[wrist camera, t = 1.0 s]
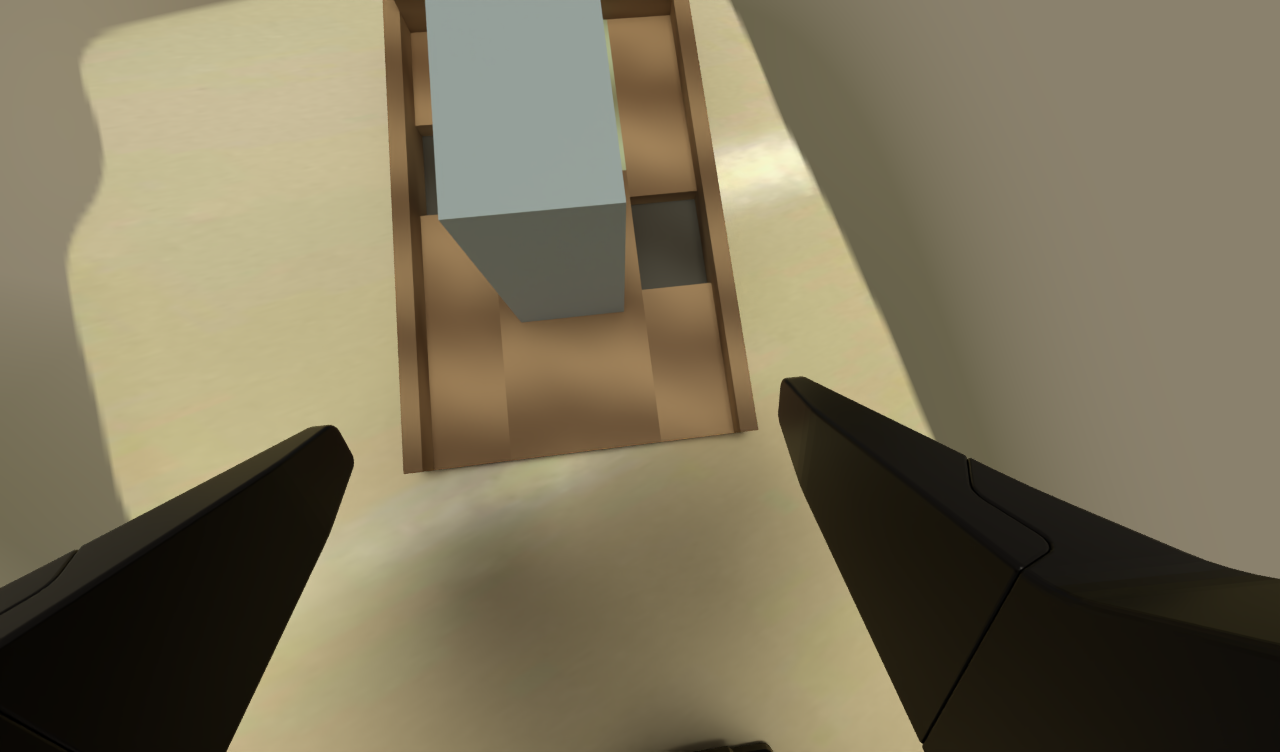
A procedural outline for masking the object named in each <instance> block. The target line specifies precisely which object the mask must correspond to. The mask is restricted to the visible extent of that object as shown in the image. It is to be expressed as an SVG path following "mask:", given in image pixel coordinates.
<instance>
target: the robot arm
mask: <svg viewBox="0 0 1280 752" xmlns="http://www.w3.org/2000/svg"><path fill="white" fill-rule="evenodd" d="M778 417H779V423H780V426H781V429H782V432H783V435H784V438H785V441H786V444H787V447H788V451H789V454H790V457H791V460H792V463H793V466H794V469H795V472H796V475H797V478H798V481H799V484H800V486H801V489H802V491H803V493H804V496H805V498H806V500H807V502H808V504H809V506H810V508H811V511H812V513H813V515H814V517H815V519H816V521H817V523H818V526H819V528H820V530H821V532H822V534H823V536H824V538H825V540H826V543H827V545H828V547H829V549H830V551H831V553H832V555H833V558H834V560H835V562H836V564H837V566H838V568H839V570H840V572H841V575H842V577H843V579H844V581H845V583H846V585H847V587H848V589H849V592H850V594H851V596H852V598H853V600H854V602H855V604H856V607H857V609H858V611H859V613H860V615H861V617H862V619H863V621H864V624H865V626H866V628H867V630H868V632H869V634H870V636H871V638H872V641H873V643H874V645H875V647H876V649H877V651H878V653H879V656H880V658H881V660H882V662H883V664H884V666H885V668H886V670H887V673H888V675H889V677H890V679H891V681H892V683H893V685H894V688H895V690H896V692H897V694H898V696H899V698H900V700H901V702H902V705H903V707H904V709H905V711H906V713H907V715H908V717H909V719H910V722H911V724H912V726H913V728H914V730H915V732H916V734H917V737H918V739H919V741H920V742H921V743H922V744H923V746H922V748H923V750H924V752H1280V579H1277V578H1271V577H1266V576H1261V575H1255V574H1251V573H1248V572H1244V571H1239V570H1236V569H1232V568H1228V567H1225V566H1222V565H1219V564H1216V563H1212V562H1209V561H1206V560H1204V559H1201V558H1199V557H1196V556H1193V555H1191V554H1188V553H1186V552H1183V551H1181V550H1179V549H1176V548H1174V547H1171V546H1169V545H1167V544H1165V543H1162V542H1160V541H1157V540H1155V539H1153V538H1150V537H1148V536H1146V535H1143V534H1141V533H1138V532H1136V531H1133V530H1131V529H1129V528H1126V527H1124V526H1122V525H1119V524H1117V523H1115V522H1112V521H1110V520H1108V519H1105V518H1103V517H1100V516H1098V515H1096V514H1093V513H1091V512H1088V511H1086V510H1084V509H1081V508H1079V507H1077V506H1074V505H1072V504H1070V503H1067V502H1065V501H1063V500H1060V499H1058V498H1056V497H1054V496H1051V495H1049V494H1046V493H1044V492H1042V491H1040V490H1037V489H1035V488H1033V487H1030V486H1028V485H1026V484H1024V483H1022V482H1020V481H1017V480H1015V479H1013V478H1011V477H1009V476H1007V475H1005V474H1003V473H1001V472H998V471H996V470H994V469H992V468H990V467H988V466H986V465H984V464H982V463H980V462H978V461H976V460H974V459H972V458H968V459H967V457H966V456H965V455H963V454H961V453H959V452H957V451H955V450H953V449H951V448H949V447H947V446H945V445H943V444H941V443H939V442H937V441H935V440H933V439H931V438H929V437H927V436H924V435H922V434H920V433H918V432H916V431H914V430H912V429H910V428H908V427H906V426H904V425H902V424H900V423H898V422H896V421H894V420H892V419H890V418H888V417H886V416H884V415H881V414H879V413H877V412H875V411H873V410H871V409H869V408H867V407H865V406H863V405H861V404H859V403H857V402H855V401H853V400H851V399H849V398H847V397H845V396H843V395H841V394H838V393H836V392H834V391H832V390H830V389H828V388H826V387H824V386H822V385H820V384H818V383H816V382H814V381H812V380H810V379H808V378H806V377H802V376H800V377H791V378H785V379H783V380H782V383H781V387H780V398H779V409H778ZM353 467H354V459H353V455H352V453H351V451H350V450H349V448H348V446H347V444H346V442H345V440H344V439H343V437H342V435H341V433H340V431H339V430H338V429H337V428H336V427H335V426H332V425H324V426H314V427H310V428H307V429H305V430H303V431H302V432H300V433H298V434H296V435H294V436H292V437H290V438H288V439H286V440H284V441H282V442H280V443H279V444H277V445H275V446H273V447H271V448H269V449H267V450H265V451H263V452H261V453H259V454H257V455H256V456H254V457H252V458H250V459H248V460H246V461H244V462H242V463H240V464H238V465H236V466H234V467H233V468H231V469H229V470H227V471H225V472H223V473H221V474H219V475H217V476H215V477H213V478H211V479H209V480H208V481H206V482H204V483H202V484H200V485H198V486H196V487H194V488H192V489H190V490H188V491H186V492H185V493H183V494H181V495H179V496H177V497H175V498H173V499H171V500H169V501H167V502H165V503H163V504H162V505H160V506H158V507H156V508H154V509H152V510H150V511H148V512H146V513H144V514H142V515H140V516H139V517H137V518H135V519H133V520H131V521H129V522H127V523H125V524H123V525H121V526H119V527H118V528H116V529H114V530H112V531H110V532H108V533H106V534H104V535H102V536H100V537H98V538H96V539H94V540H92V541H91V542H89V543H87V544H85V545H83V546H82V547H81V548H80V549H79V550H73V551H71V552H69V553H67V554H65V555H64V556H62V557H60V558H58V559H56V560H54V561H52V562H50V563H48V564H47V565H44V566H43V567H40V568H38V569H37V570H35V571H33V572H31V573H29V574H27V575H25V576H23V577H21V578H19V579H17V580H15V581H13V582H11V583H9V584H7V585H5V586H4V587H1V588H0V752H227V749H228V747H229V745H230V743H231V741H232V739H233V737H234V735H235V733H236V730H237V728H238V726H239V724H240V722H241V720H242V718H243V716H244V714H245V712H246V709H247V707H248V705H249V703H250V701H251V699H252V697H253V695H254V693H255V691H256V688H257V686H258V684H259V682H260V680H261V678H262V676H263V674H264V672H265V670H266V667H267V665H268V663H269V661H270V659H271V657H272V655H273V653H274V651H275V649H276V646H277V644H278V642H279V640H280V638H281V636H282V634H283V632H284V630H285V628H286V625H287V623H288V621H289V619H290V617H291V615H292V613H293V611H294V609H295V607H296V604H297V602H298V600H299V598H300V596H301V594H302V592H303V590H304V588H305V586H306V583H307V581H308V579H309V577H310V575H311V573H312V571H313V569H314V567H315V564H316V562H317V560H318V558H319V556H320V554H321V552H322V550H323V548H324V545H325V543H326V541H327V539H328V537H329V534H330V532H331V529H332V526H333V524H334V521H335V518H336V515H337V512H338V510H339V507H340V504H341V501H342V498H343V496H344V493H345V490H346V487H347V484H348V481H349V479H350V476H351V473H352V470H353ZM695 752H773V751H772V749H771V748H770V746H769V745H767V744H765V743H758V744H752V745H746V746H741V747H735V748H729V747H727V746H725V747H719V748H713V749H707V750H701V751H695Z"/></svg>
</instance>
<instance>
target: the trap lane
mask: <svg viewBox="0 0 1280 752" xmlns="http://www.w3.org/2000/svg"><path fill="white" fill-rule="evenodd" d="M600 1H601V8H602V16H603V24H604V32H605V40H606V48H607V56H608V63H609V71H610V79H611V87H612V95H613V103H614V110H615V118H616V126H617V134H618V142H619V150H620V158H621V165H622V173H623V181H624V189H625V197H626V240H625V290H624V312H615V313H605V314H596V315H587V316H577V317H568V318H559V319H549V320H540V321H531V322H521V321H520V320H519V319H518V318H517V316H516V315H515V314H514V313H513V311H512V310H511V309H510V308H509V307H508V305H507V304H506V303H505V302H504V300H503V299H502V298H501V297H500V295H499V294H498V293H497V292H496V290H495V289H494V288H493V287H492V286H491V284H490V283H489V282H488V281H487V279H486V278H485V277H484V276H483V274H482V273H481V272H480V271H479V269H478V268H477V267H476V266H475V265H474V263H473V262H472V261H471V260H470V258H469V257H468V256H467V255H466V253H465V252H464V251H463V250H462V248H461V247H460V246H459V245H458V244H457V242H456V241H455V240H454V239H453V237H452V236H451V235H450V234H449V232H448V231H447V230H446V229H445V227H444V226H443V225H442V224H441V223H440V221H439V220H438V205H437V189H436V172H435V156H434V139H433V122H432V106H431V89H430V73H429V56H428V40H427V23H426V7H425V0H383V18H384V40H385V63H386V86H387V108H388V131H389V154H390V176H391V199H392V222H393V244H394V267H395V290H396V312H397V335H398V357H399V380H400V403H401V425H402V448H403V471H404V474H408V473H416V472H424V471H432V470H440V469H448V468H456V467H464V466H472V465H480V464H488V463H496V462H504V461H512V460H520V459H528V458H536V457H544V456H552V455H560V454H568V453H576V452H584V451H592V450H600V449H608V448H616V447H624V446H632V445H640V444H648V443H656V442H664V441H672V440H680V439H688V438H696V437H704V436H712V435H720V434H728V433H736V432H745V431H753V430H758V425H757V419H756V413H755V407H754V401H753V394H752V388H751V382H750V376H749V370H748V363H747V357H746V351H745V345H744V339H743V332H742V326H741V320H740V314H739V308H738V302H737V295H736V289H735V283H734V277H733V271H732V264H731V258H730V252H729V246H728V240H727V233H726V227H725V221H724V215H723V209H722V202H721V196H720V190H719V184H718V178H717V171H716V165H715V159H714V153H713V147H712V140H711V134H710V128H709V122H708V116H707V109H706V103H705V97H704V91H703V85H702V78H701V72H700V66H699V60H698V54H697V47H696V41H695V35H694V29H693V23H692V16H691V10H690V4H689V0H600Z"/></svg>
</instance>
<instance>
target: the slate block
mask: <svg viewBox="0 0 1280 752" xmlns="http://www.w3.org/2000/svg"><path fill="white" fill-rule="evenodd" d="M425 7H426V23H427V40H428V56H429V73H430V89H431V106H432V122H433V139H434V156H435V172H436V189H437V205H438V220H439V221H440V223H441V224H442V225H443V226H444V227H445V229H446V230H447V231H448V232H449V234H450V235H451V236H452V237H453V239H454V240H455V241H456V242H457V244H458V245H459V246H460V247H461V248H462V250H463V251H464V252H465V253H466V255H467V256H468V257H469V258H470V260H471V261H472V262H473V263H474V265H475V266H476V267H477V268H478V269H479V271H480V272H481V273H482V274H483V276H484V277H485V278H486V279H487V281H488V282H489V283H490V284H491V286H492V287H493V288H494V289H495V290H496V292H497V293H498V294H499V295H500V297H501V298H502V299H503V300H504V302H505V303H506V304H507V305H508V307H509V308H510V309H511V310H512V311H513V313H514V314H515V315H516V316H517V318H518V319H519V320H520V321H521V322H531V321H540V320H549V319H559V318H568V317H577V316H587V315H596V314H605V313H615V312H624V290H625V240H626V197H625V189H624V181H623V173H622V165H621V158H620V150H619V142H618V134H617V126H616V118H615V110H614V103H613V95H612V87H611V79H610V71H609V63H608V56H607V48H606V40H605V32H604V24H603V16H602V8H601V1H600V0H425Z"/></svg>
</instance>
